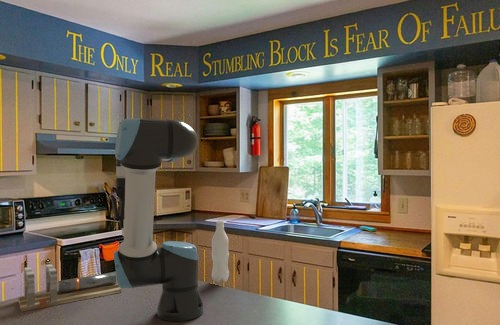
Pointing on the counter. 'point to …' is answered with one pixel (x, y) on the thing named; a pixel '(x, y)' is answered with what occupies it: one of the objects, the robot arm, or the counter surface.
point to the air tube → (86, 283)
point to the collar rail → (52, 295)
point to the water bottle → (220, 254)
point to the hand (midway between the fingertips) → (126, 235)
